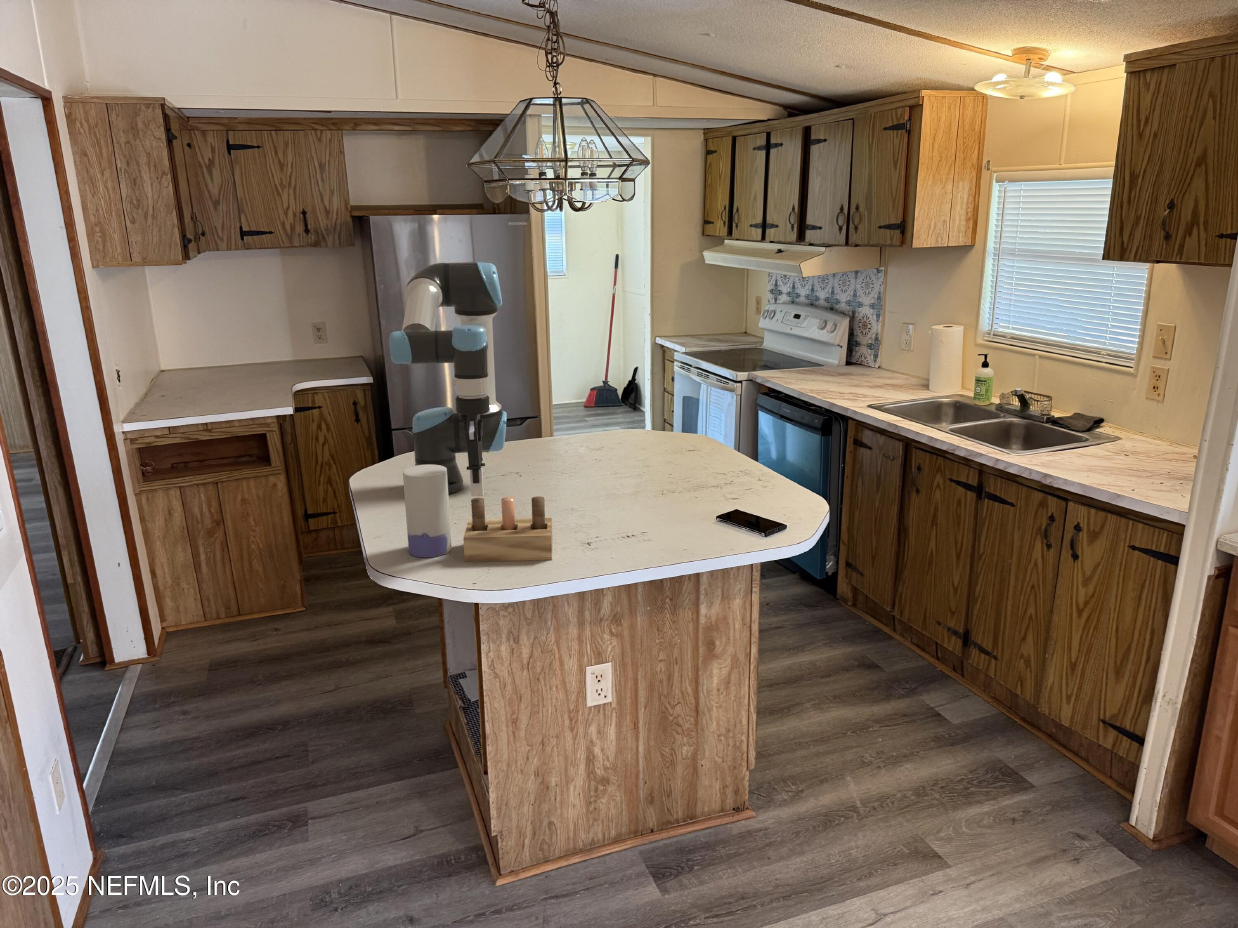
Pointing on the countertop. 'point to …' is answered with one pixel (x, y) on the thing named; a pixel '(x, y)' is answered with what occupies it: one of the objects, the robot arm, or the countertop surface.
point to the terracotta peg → (508, 513)
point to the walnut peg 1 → (478, 514)
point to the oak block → (508, 541)
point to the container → (427, 510)
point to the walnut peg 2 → (538, 513)
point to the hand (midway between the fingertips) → (477, 495)
